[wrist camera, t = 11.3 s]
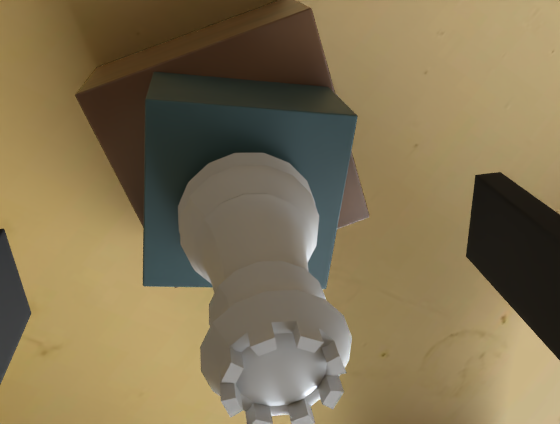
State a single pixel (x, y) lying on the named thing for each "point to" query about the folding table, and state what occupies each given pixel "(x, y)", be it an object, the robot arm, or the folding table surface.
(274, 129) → the top block
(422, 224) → the folding table surface
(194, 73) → the base block
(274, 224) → the rook chess piece
